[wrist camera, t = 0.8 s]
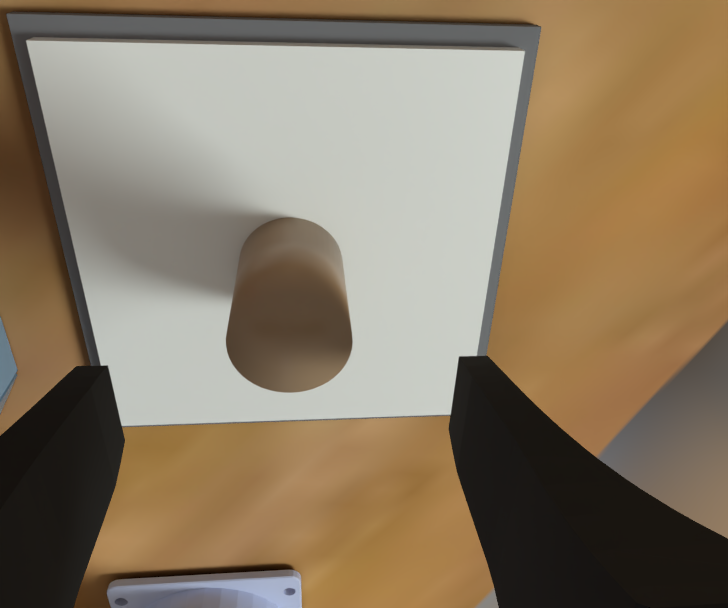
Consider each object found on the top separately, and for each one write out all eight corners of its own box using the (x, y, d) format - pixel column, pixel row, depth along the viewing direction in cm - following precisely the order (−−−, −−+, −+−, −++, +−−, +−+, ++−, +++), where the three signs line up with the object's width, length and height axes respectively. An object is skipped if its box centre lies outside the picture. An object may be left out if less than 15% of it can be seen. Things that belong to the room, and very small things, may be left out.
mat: (473, 407, 23) (476, 414, 23) (109, 420, 22) (105, 427, 22) (536, 24, 16) (541, 27, 16) (12, 11, 15) (6, 13, 15)
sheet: (464, 404, 22) (498, 504, 19) (118, 416, 21) (79, 524, 18) (519, 47, 16) (587, 87, 12) (33, 37, 15) (-56, 77, 11)
